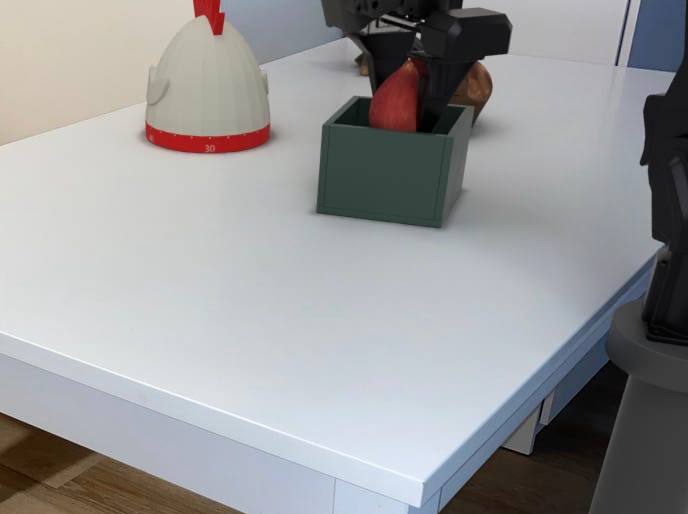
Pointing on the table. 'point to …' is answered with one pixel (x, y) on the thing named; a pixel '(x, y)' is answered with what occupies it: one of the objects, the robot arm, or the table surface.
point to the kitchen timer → (207, 89)
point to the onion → (396, 101)
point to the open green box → (392, 166)
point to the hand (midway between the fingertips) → (402, 128)
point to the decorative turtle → (474, 90)
